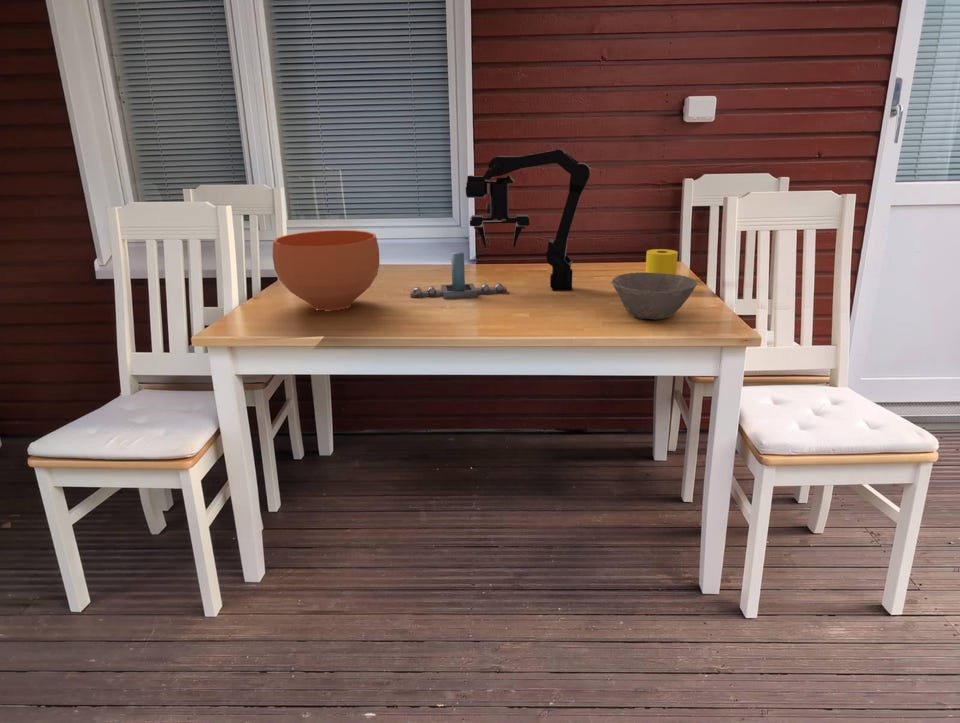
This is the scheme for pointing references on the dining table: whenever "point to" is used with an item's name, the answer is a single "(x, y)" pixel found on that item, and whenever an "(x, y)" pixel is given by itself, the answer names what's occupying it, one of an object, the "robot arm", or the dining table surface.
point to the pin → (458, 271)
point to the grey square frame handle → (467, 293)
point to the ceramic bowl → (653, 293)
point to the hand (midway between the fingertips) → (499, 247)
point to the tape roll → (661, 261)
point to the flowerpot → (327, 265)
